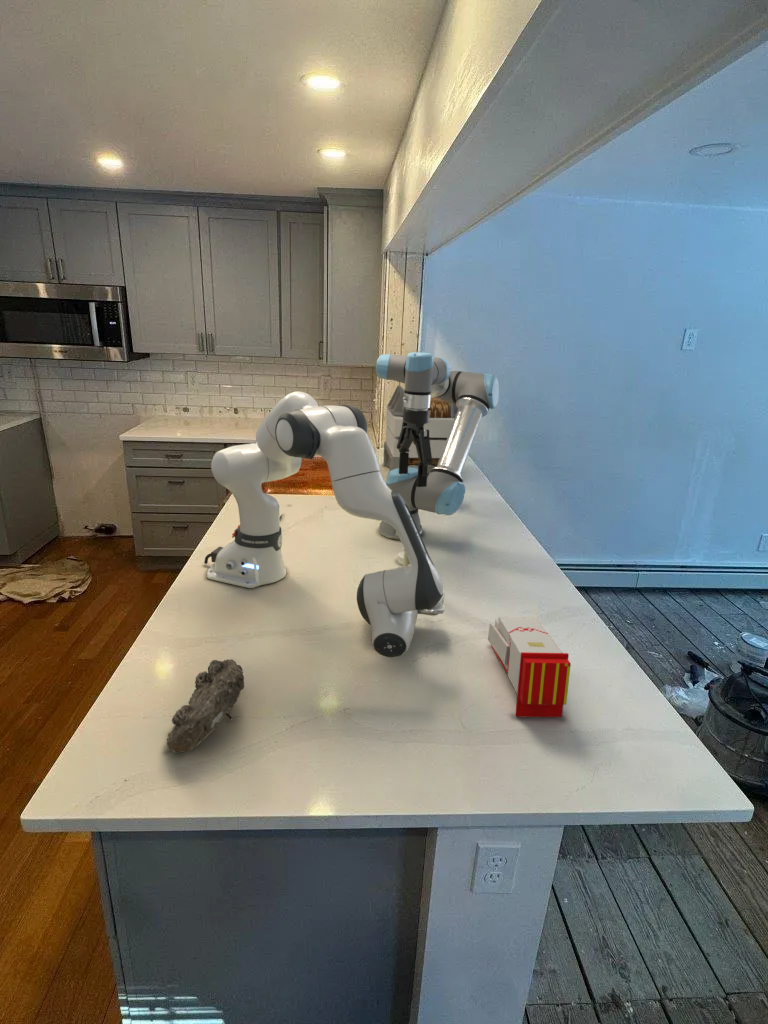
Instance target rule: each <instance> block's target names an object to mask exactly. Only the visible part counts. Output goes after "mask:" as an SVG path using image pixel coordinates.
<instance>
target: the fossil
mask: <svg viewBox="0 0 768 1024" xmlns="http://www.w3.org/2000/svg"><path fill="white" fill-rule="evenodd" d="M243 670H244V669H243V667H242V665H240V664H237V662H236V661H235V660H234V659H232V658H231V659H227V658H226V659H224V660H223V661H222V660H217V659H212V660H211V661H210V663H209V665H208V666H207V671H201V672H199V673H198V674H197V675H196V676H195V680H194V684H195V685H194V687H195V689H194V690H193V693H192V694H191V697H190V698H189V700H188V704H184V705H182V706H181V707H180V709H177V710H176V711H175V713H174V715H173V716H172V718H171V723H172V724H173V727H172V730H171V731H170V732H168V734H167V738H166V741H167V742H166V745H167V749H168V750H169V751H173V752H174V753H176V754H178V753H182V752H188V751H189V752H192V751H193V750H195V748H196V747H197V746H199V744H200V743H201V742H203V741H204V740H205V739H206V738H207V737H208V736H209V735H210V734H211V733H212V732H214V730H215V729H217V727H218V726H219V724H220V722H221V721H222V720H223V719H224V718H225V716H226V717H227V719H229V720H233V717H232V715H230V714H229V710H230V709H231V708H234V706H235V704H236V703H237V702H238V699H239V697H240V695H241V693H242V691H243V690H245V689H244V688H245V675H244V671H243Z"/></svg>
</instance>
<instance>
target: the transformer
mask: <svg viewBox="0 0 768 1024" xmlns="http://www.w3.org/2000/svg"><path fill="white" fill-rule="evenodd" d="M404 391H405V388H403V387H402V385H399V384H398V385H397V386H396V388H395V390H394V392H393V394H392V395H391V398H390V400H389V402H388V404H387V405H386V413H385V414H386V415H385V423H386V428H385V438H384V442H383V466H384V467H388V468H389V472H390V471H391V470H393V469H397V468H399V459H400V452H399V449H397V443H398V440H399V436H400V433H401V429H402V422H403V410H404V409H405V407H404V400H403V397H404ZM428 410H429V411H430V412H429V422H428V423H427V424H424V430H429V440H430V447H431V455H432V464H431V465H428V467H437V465H438V462H439V459H440V457H441V454H442V451H443V449H444V446H445V443H446V441H447V438H448V435H449V433H450V430H451V427H452V425H453V422H454V419H455V417H456V414H457V411H458V408H457V406H456V404H453V403H449V402H446V401H443V400H441V399H438V398H436V397H433V396H431V399H430V408H429V409H428ZM400 445H401V444H400ZM409 451H410V452H406V453H409V460H408V467H409V466H411V467H418V464H419V463H420V462H419V458H418V454H417V449H416V445H415V444H414V443H413V442H412V444H411V446H410V447H409Z"/></svg>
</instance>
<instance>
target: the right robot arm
mask: <svg viewBox="0 0 768 1024" xmlns="http://www.w3.org/2000/svg"><path fill="white" fill-rule="evenodd" d="M451 367H452V366H451V364H450V362H448V360H447V359H445V358H444V357H436V356H435V357H434V356H433V354H432V353H430V352H422V351H421V352H419V351H416V352H415V351H414V352H411V351H410V352H409V353H408V354H406V355H400V354H399V355H398V354H392V353H389V354H388V353H387V354H386V353H383V354H381V355H379V356H378V358H377V360H376V364H375V372H376V375H377V377H378V378H379V379H382V380H386V381H394V382H397V383H400V384H401V383H402V384H403V385H404V390H405V391H404V397H403V400H404V407H405V409H404V410H403V422H402V429H401V433H400V436H399V440H398V443H397V449H399V452H400V459H399V468H397V469H393V470H391V471H390V470H389V471H388V473H387V475H386V480H385V483H386V485H387V486H388V487H389V488H390V489H391V490H392V491H394V492H397V493H399V494H400V495H401V496H402V498H403V499H404V501H405V502H406V504H407V506H408V508H409V510H410V513H411V515H412V517H413V519H414V521H415V524H416V526H417V528H418V531H419V533H420V535H421V536H422V535H423V525H422V524H421V518H420V515H419V510H421V511H426V512H429V513H433V514H434V513H435V514H437V515H443V516H444V515H445V516H452V515H454V514H455V513H457V511H459V509H460V508H461V506H462V505H463V501H464V499H465V494H466V486H465V484H464V479H463V477H462V472H463V470H464V466H465V464H466V461H467V459H468V456H469V452H470V450H471V447H472V444H473V441H474V439H475V437H476V434H477V430H478V428H479V425H480V422H481V419H482V418H484V417H485V416H487V415H488V412H489V410H490V409H491V410H493V409H495V408H496V407H497V406H498V403H499V396H500V386H499V385H500V384H499V380H498V378H497V376H496V375H495V374H490V373H486V372H484V373H481V372H480V373H479V372H471V371H462V370H452V368H451ZM431 397H436V398H438V399H441V400H443V401H446V402H449V403H453V404H456V406H457V408H458V411H457V414H456V417H455V419H454V422H453V425H452V427H451V430H450V433H449V435H448V438H447V441H446V443H445V446H444V449H443V451H442V454H441V457H440V459H439V462H438V465H437V466H433V467H432V468H430V471H429V470H428V468H429V465H430V466H432V465H431V464H432V455H431V447H430V440H429V430H424V424H427V423H428V422H429V412H430V411H429V410H428V409H429V408H430V399H431ZM412 442H413V443H414V444H415V445H416V449H417V454H418V458H419V462H420V463H419V464H418V466H417V467H414V466H411V467H409V466H408V460H409V453H406V452H410V451H409V447H410V446H411V444H412ZM400 444H401V445H400ZM428 471H429V472H428ZM428 473H429V474H428ZM378 533H379V534H380V535H381V536H382V537H385V538H387V539H389V540H395V541H401V540H400V538H399V535H398V533H397V531H396V530H395V529H394V528H393V527H392V526H391V525H390V524H388V523H386V522H383V521H380V522H379V526H378Z"/></svg>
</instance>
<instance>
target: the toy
mask: <svg viewBox="0 0 768 1024" xmlns="http://www.w3.org/2000/svg"><path fill="white" fill-rule="evenodd" d="M488 625H489V627H488V633H487V641H488V642H489V644H490V646H491V647H490V648H491V649H492V650H493V652H494V654H495V656H496V658H497V659H498V660H499V662H500V664H501V666H502V668H503V669H504V671H505V673H506V674H507V676H508V678H509V680H510V682H511V685H512V686H513V689H514V690H515V693H516V704H515V717H516V718H517V717H518V718H519V717H520V718H521V717H522V718H563V710H564V705H567V701H568V692H569V685H570V684H569V683H570V676H571V675H570V674H571V666H572V664H571V661H570V660H569V655H570V654H569V653H568V652H563V651H562V649H561V648H560V647H559V646H558V644H557V643H556V642H555V640H554V639H553V638H552V636H551V635H550V634H549V632H548V631H547V629H546V628H545V627H544V626H543V624H542V622H541V621H540V620H539V619H538V618H537V616H498V618H496V619H494V623H493V622H489V624H488Z"/></svg>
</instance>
